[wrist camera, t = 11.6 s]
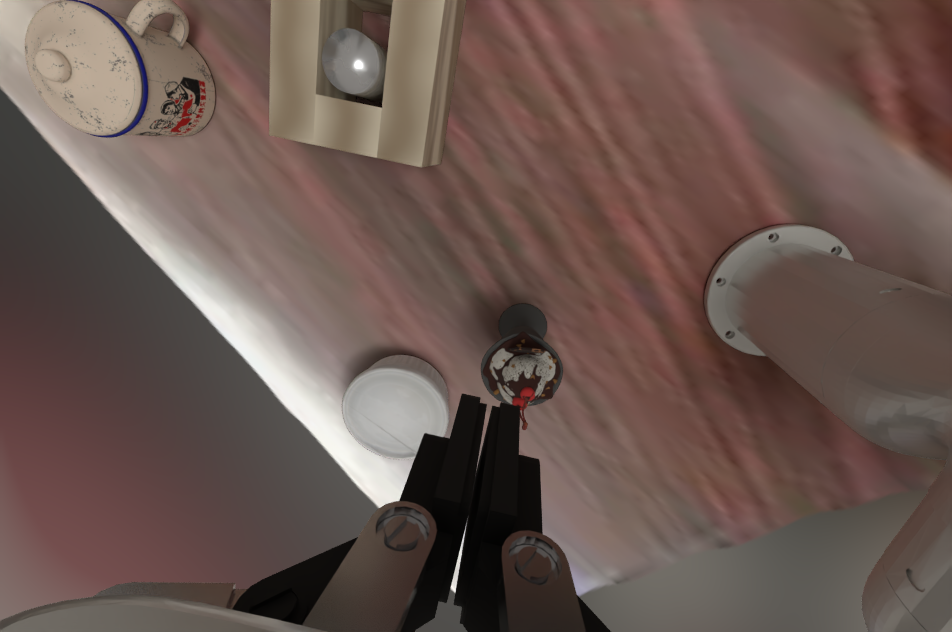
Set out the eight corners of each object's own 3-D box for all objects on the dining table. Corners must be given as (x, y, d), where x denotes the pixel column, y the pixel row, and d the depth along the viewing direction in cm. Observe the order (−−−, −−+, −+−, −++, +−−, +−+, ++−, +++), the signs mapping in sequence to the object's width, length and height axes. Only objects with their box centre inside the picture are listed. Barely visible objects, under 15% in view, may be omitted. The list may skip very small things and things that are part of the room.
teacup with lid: (188, 160, 43) (74, 164, 32) (110, 86, 41) (-38, 63, 31) (256, 62, 39) (153, 29, 28) (173, -25, 38) (30, -94, 27)
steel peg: (408, 55, 37) (380, 34, 30) (402, 107, 38) (374, 98, 32) (362, 46, 37) (323, 23, 30) (357, 98, 39) (320, 87, 32)
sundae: (521, 367, 47) (518, 458, 33) (477, 323, 46) (455, 399, 32) (569, 329, 45) (587, 410, 31) (525, 282, 44) (523, 345, 30)
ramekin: (358, 423, 52) (340, 452, 47) (359, 338, 48) (340, 360, 43) (451, 438, 52) (443, 469, 47) (460, 353, 47) (452, 377, 43)
